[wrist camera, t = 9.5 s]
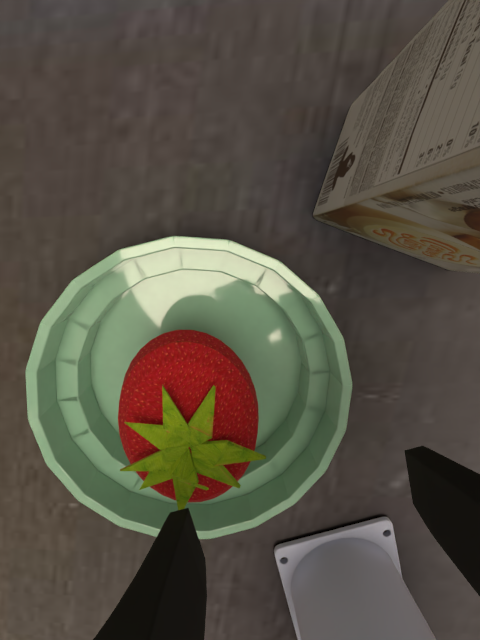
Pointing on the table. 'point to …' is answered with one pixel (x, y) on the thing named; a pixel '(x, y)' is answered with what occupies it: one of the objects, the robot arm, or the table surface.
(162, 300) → the mint green dish
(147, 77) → the table surface
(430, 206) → the coffee box
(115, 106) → the table surface
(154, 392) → the strawberry
